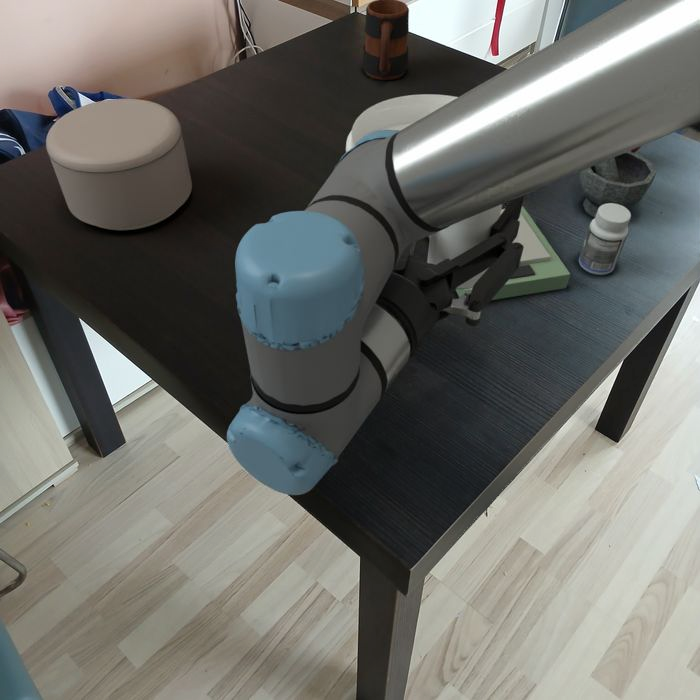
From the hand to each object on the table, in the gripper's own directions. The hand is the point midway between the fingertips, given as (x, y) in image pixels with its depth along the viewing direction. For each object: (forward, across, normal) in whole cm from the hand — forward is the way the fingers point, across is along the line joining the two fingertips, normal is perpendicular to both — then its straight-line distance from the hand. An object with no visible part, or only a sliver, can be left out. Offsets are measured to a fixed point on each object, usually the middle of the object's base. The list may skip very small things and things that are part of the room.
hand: (485, 195), depth 68 cm
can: (-5, 0, -7) cm, 8 cm away
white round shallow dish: (+29, -19, -18) cm, 39 cm away
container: (-3, -52, -18) cm, 55 cm away
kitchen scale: (+12, -1, -18) cm, 22 cm away
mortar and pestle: (+32, +7, -18) cm, 38 cm away
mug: (+52, -40, -18) cm, 69 cm away
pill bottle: (+19, +11, -18) cm, 28 cm away
